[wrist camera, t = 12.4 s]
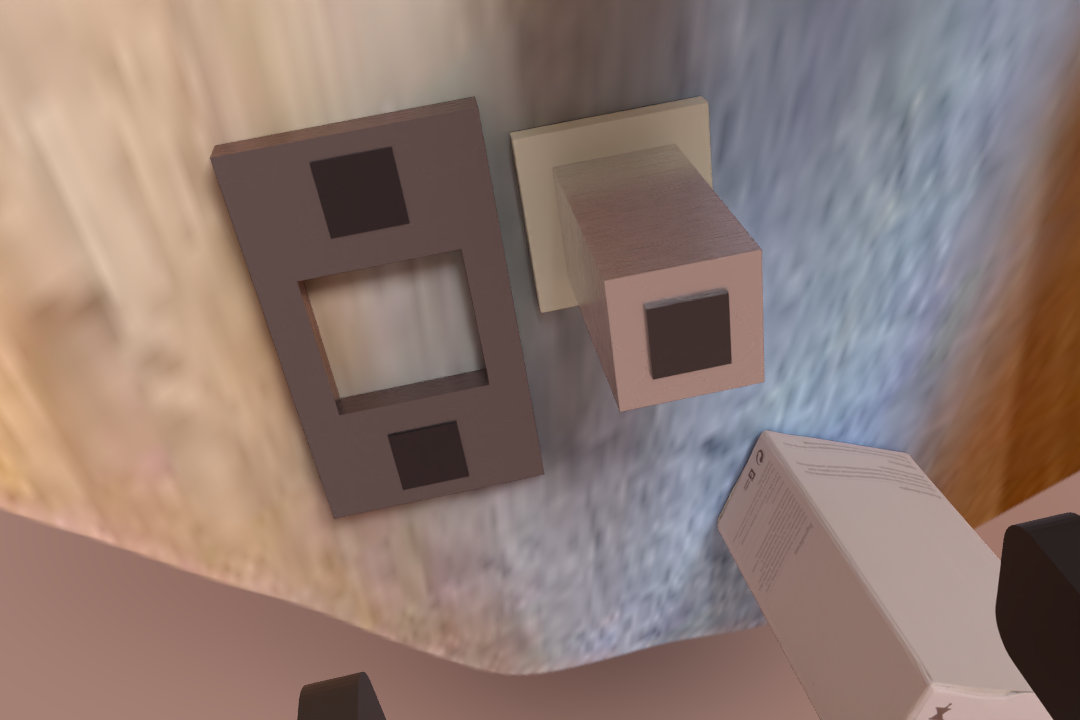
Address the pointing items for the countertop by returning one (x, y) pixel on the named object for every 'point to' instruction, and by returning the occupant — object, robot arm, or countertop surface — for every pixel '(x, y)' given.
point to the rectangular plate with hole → (370, 240)
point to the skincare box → (872, 584)
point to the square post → (661, 276)
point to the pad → (587, 142)
